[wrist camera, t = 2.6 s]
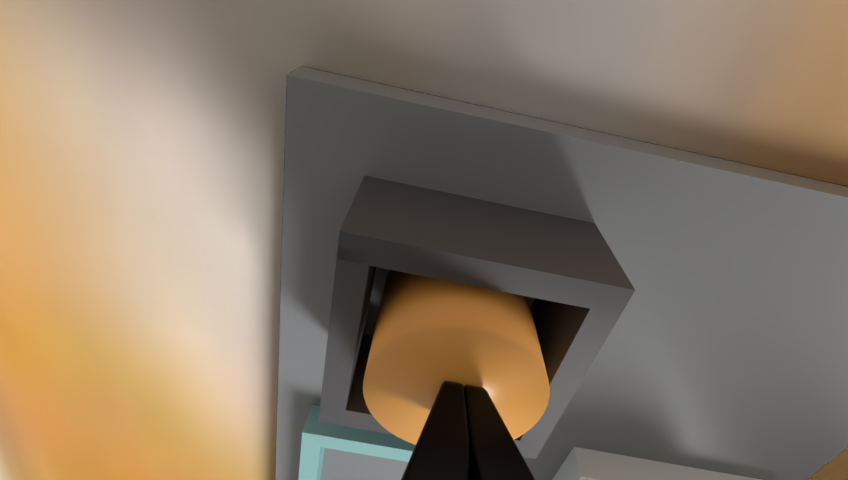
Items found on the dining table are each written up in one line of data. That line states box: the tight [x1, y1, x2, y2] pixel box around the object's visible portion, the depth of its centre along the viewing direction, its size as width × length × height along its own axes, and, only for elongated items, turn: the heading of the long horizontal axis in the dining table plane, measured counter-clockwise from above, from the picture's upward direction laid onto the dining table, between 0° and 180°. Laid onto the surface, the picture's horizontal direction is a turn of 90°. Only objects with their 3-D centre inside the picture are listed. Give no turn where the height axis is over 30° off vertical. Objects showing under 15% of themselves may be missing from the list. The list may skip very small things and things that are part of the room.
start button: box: [363, 270, 550, 445], centre depth 9 cm, size 4×4×3 cm
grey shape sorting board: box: [275, 67, 848, 480], centre depth 13 cm, size 18×18×4 cm
